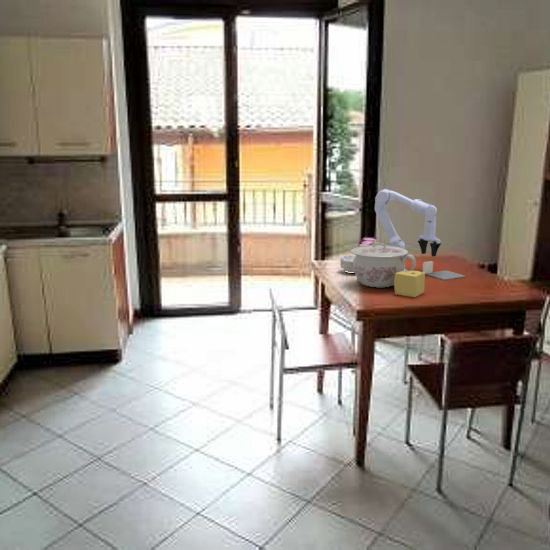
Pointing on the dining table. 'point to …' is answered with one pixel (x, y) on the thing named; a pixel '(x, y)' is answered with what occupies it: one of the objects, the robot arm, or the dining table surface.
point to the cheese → (409, 283)
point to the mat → (445, 275)
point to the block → (428, 267)
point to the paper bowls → (347, 263)
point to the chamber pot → (379, 264)
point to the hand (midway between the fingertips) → (428, 255)
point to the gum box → (367, 241)
